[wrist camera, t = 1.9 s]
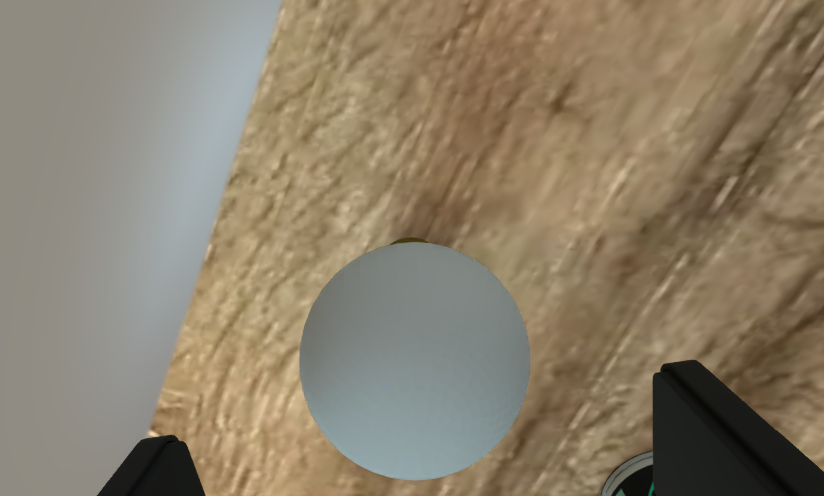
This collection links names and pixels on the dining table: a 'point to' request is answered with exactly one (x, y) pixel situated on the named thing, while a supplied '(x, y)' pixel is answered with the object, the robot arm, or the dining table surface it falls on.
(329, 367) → the light bulb
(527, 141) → the dining table surface
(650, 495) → the spray can
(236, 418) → the dining table surface
